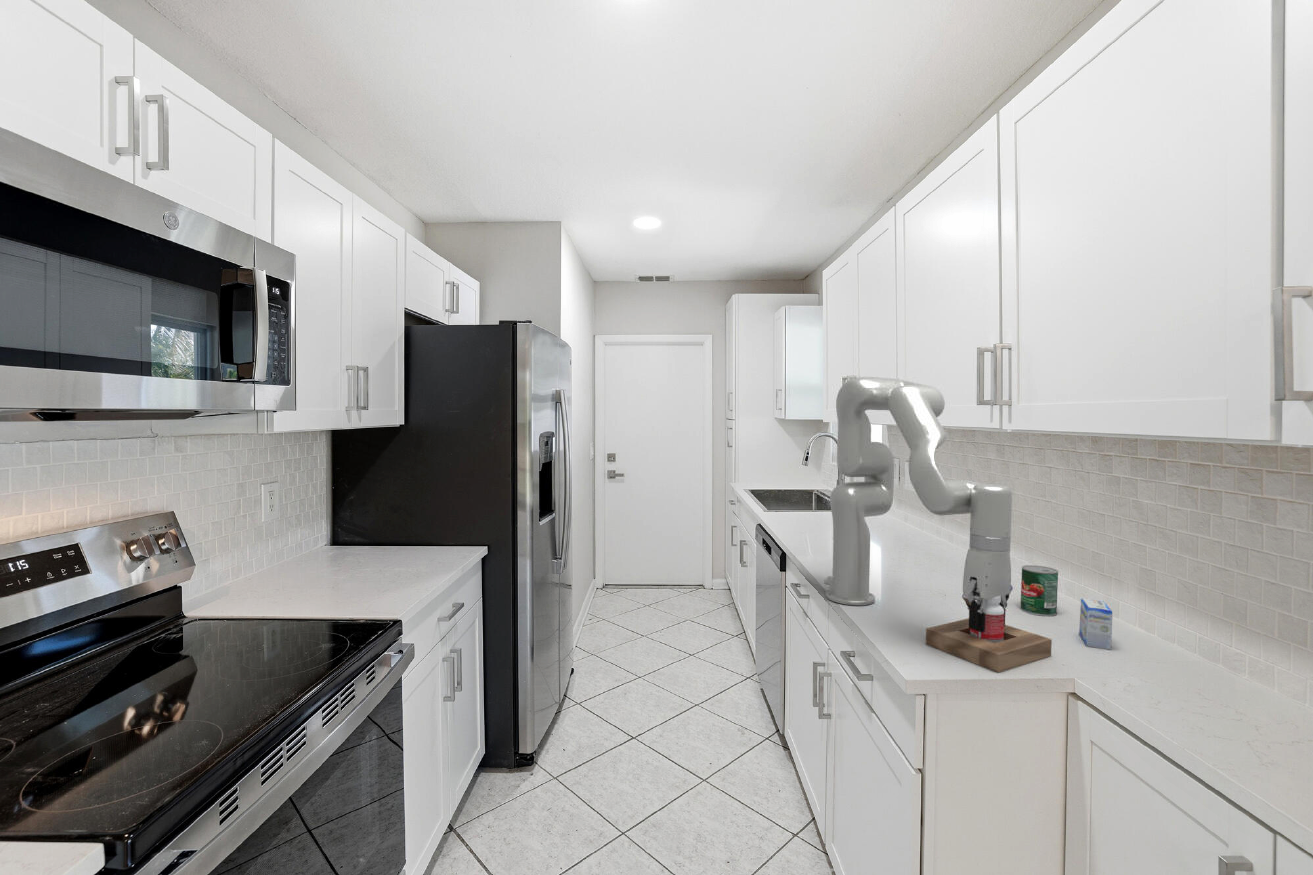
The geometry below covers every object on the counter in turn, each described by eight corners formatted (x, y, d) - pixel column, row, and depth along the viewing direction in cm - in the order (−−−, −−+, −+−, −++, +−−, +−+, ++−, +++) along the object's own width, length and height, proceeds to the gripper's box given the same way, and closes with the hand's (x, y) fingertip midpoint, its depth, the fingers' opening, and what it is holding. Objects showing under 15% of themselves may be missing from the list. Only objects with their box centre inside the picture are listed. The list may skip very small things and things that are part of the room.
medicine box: (1078, 634, 135) (1080, 597, 134) (1102, 638, 133) (1104, 600, 132) (1086, 646, 128) (1087, 607, 127) (1111, 650, 126) (1113, 610, 125)
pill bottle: (1008, 647, 124) (1010, 595, 124) (993, 653, 121) (995, 600, 120) (979, 638, 129) (980, 588, 129) (963, 643, 126) (965, 592, 126)
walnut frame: (925, 644, 128) (926, 628, 128) (977, 631, 136) (978, 616, 136) (998, 672, 114) (998, 654, 114) (1051, 655, 122) (1051, 639, 122)
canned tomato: (1015, 610, 152) (1016, 567, 152) (1027, 604, 157) (1028, 563, 156) (1050, 618, 146) (1051, 574, 145) (1061, 612, 151) (1063, 569, 150)
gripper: (997, 536, 132) (994, 616, 132) (946, 543, 124) (944, 628, 124) (1031, 543, 125) (1028, 626, 126) (981, 550, 117) (978, 640, 118)
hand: (986, 626), depth 125 cm, fingers closed on pill bottle, 6 cm apart
